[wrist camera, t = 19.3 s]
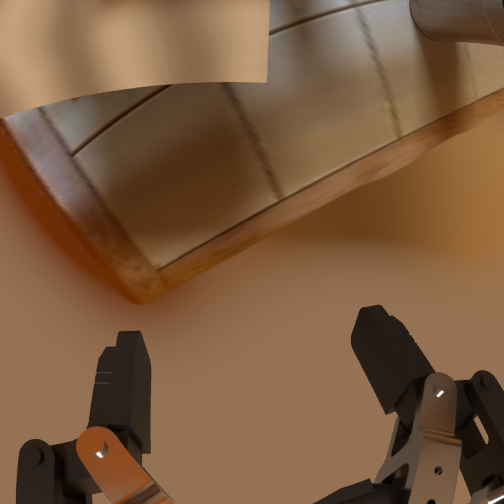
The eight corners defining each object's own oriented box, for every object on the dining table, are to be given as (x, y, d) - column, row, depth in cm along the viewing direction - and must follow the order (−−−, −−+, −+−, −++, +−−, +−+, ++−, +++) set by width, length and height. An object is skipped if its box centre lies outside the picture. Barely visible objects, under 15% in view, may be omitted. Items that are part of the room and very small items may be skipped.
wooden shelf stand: (233, -41, 23) (273, -125, 6) (228, 81, 32) (266, 82, 15) (62, -19, 19) (-20, -64, 3) (59, 101, 28) (-40, 133, 12)
